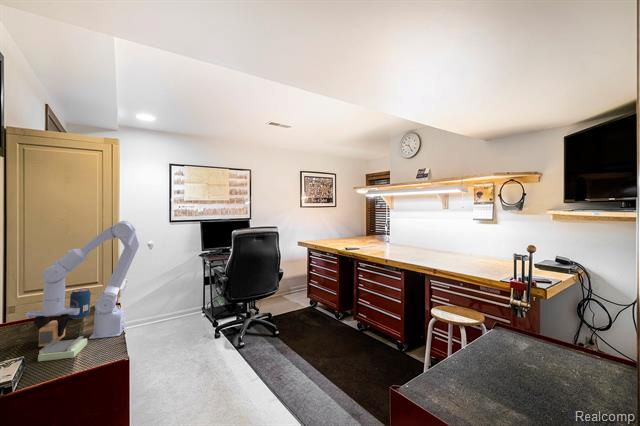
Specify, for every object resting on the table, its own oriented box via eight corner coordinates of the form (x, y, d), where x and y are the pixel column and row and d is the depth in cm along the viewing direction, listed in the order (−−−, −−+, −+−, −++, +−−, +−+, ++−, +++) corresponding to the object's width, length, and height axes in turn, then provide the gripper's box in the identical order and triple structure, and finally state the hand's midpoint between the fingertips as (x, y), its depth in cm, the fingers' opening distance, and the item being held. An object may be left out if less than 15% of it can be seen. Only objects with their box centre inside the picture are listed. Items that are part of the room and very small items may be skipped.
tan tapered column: (65, 335, 105) (65, 319, 105) (52, 345, 97) (53, 328, 97) (51, 336, 104) (52, 320, 104) (37, 347, 96) (38, 329, 96)
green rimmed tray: (87, 343, 100) (87, 334, 100) (73, 357, 91) (74, 347, 91) (55, 347, 97) (55, 337, 97) (37, 361, 87) (38, 351, 88)
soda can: (65, 318, 123) (66, 291, 123) (82, 313, 129) (83, 287, 130) (76, 320, 121) (77, 292, 121) (93, 315, 127) (94, 288, 128)
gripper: (83, 293, 107) (82, 329, 107) (34, 296, 102) (33, 334, 102) (75, 299, 100) (73, 337, 100) (22, 302, 95) (20, 342, 95)
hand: (52, 336), depth 101 cm, fingers closed on tan tapered column, 4 cm apart
